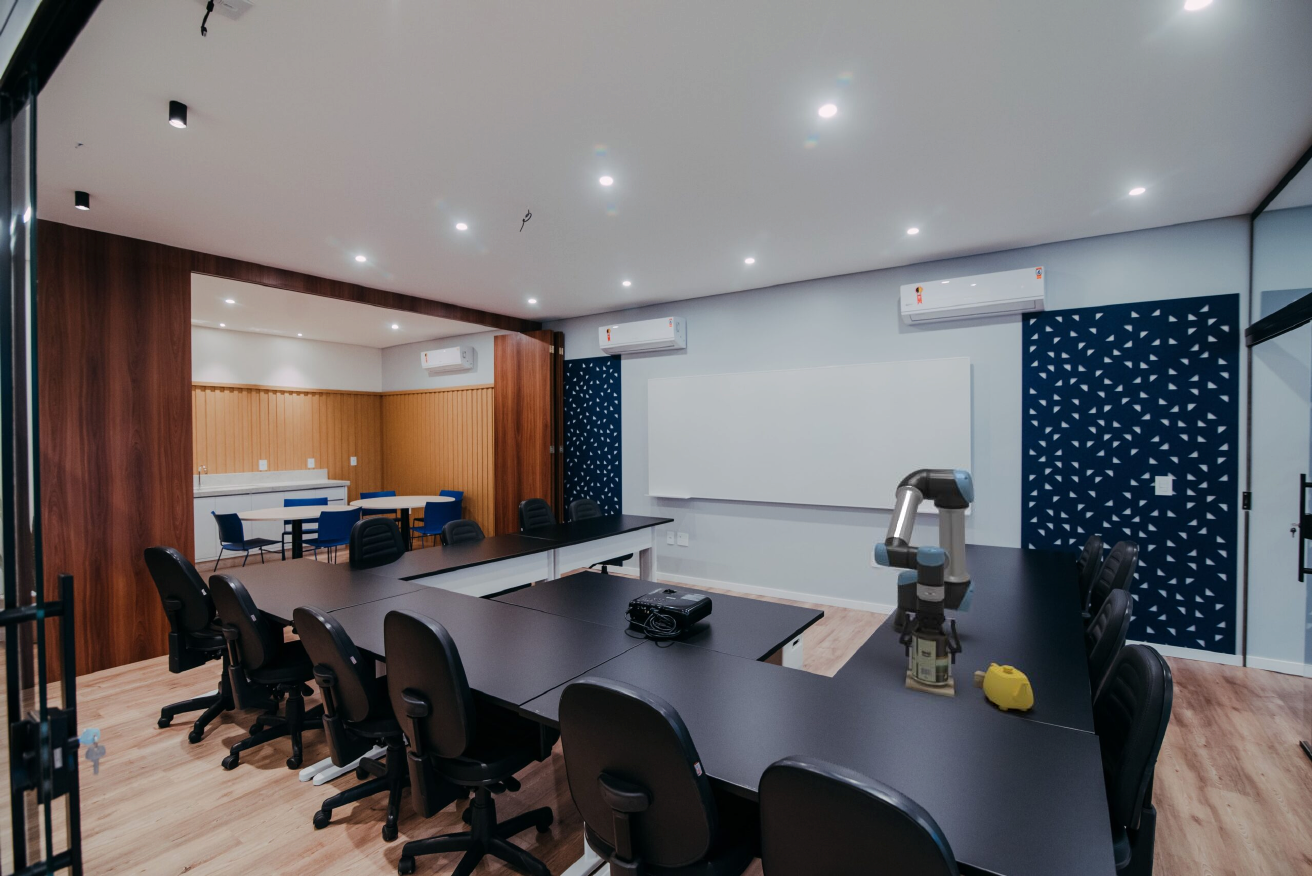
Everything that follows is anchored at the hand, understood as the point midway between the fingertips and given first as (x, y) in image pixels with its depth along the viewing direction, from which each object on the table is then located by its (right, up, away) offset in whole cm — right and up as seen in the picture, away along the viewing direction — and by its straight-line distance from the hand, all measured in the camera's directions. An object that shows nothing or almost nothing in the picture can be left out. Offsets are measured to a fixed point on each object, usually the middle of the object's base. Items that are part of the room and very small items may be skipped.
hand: (929, 670), depth 173 cm
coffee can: (0, -3, 0) cm, 3 cm away
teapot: (+16, -5, -14) cm, 21 cm away
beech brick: (+16, -4, -2) cm, 17 cm away
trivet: (0, -4, 0) cm, 4 cm away
